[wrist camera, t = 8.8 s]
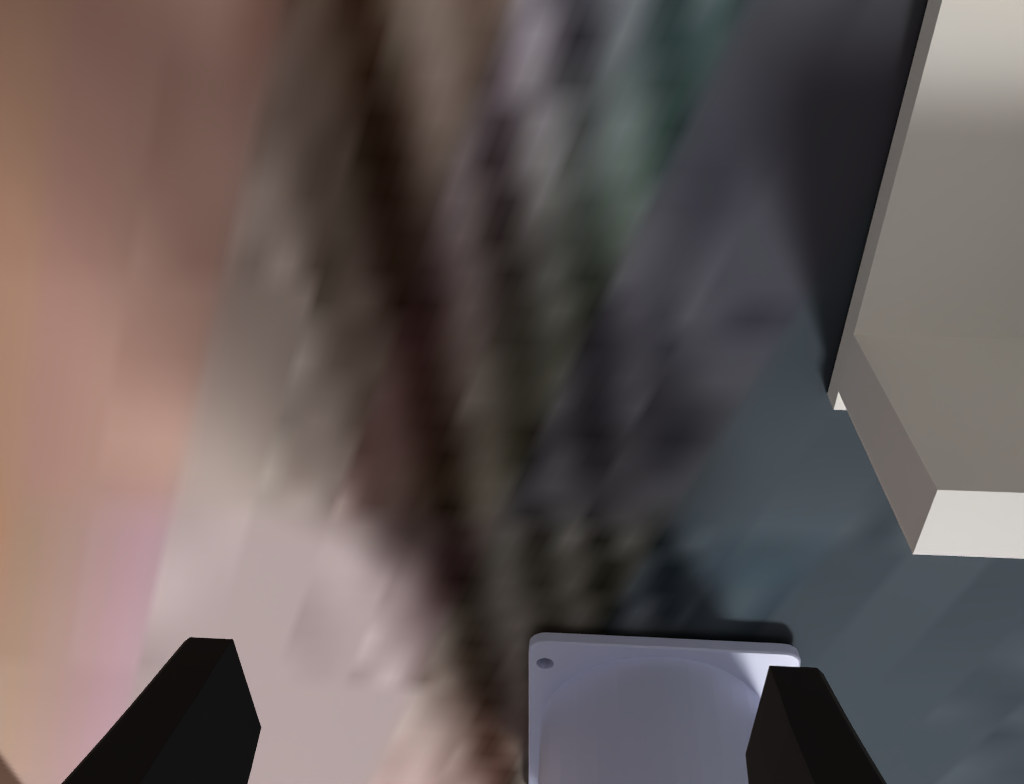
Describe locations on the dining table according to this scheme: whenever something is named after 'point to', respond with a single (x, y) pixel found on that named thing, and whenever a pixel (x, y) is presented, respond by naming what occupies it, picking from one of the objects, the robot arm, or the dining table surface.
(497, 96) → the dining table surface
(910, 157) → the cleat board
